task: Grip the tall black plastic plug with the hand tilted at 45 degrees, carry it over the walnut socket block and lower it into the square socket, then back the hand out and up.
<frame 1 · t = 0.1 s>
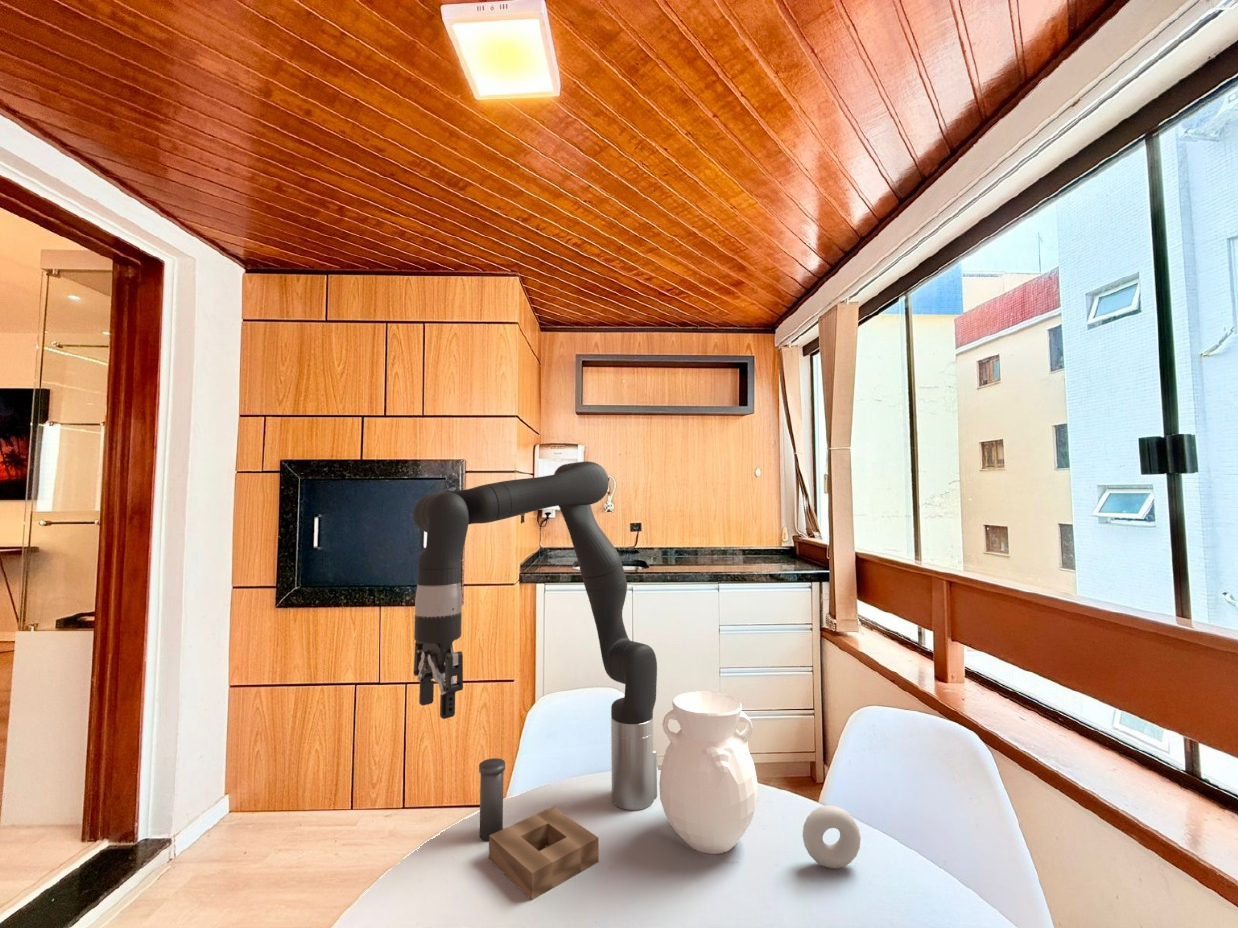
hand: (436, 710, 88), 29 cm above the table, tool pointing down, fingers open, 8 cm apart
socket block: (543, 860, 95), on the table
white handled vase: (709, 838, 101), on the table
plug: (491, 834, 102), on the table
donut: (832, 868, 92), on the table
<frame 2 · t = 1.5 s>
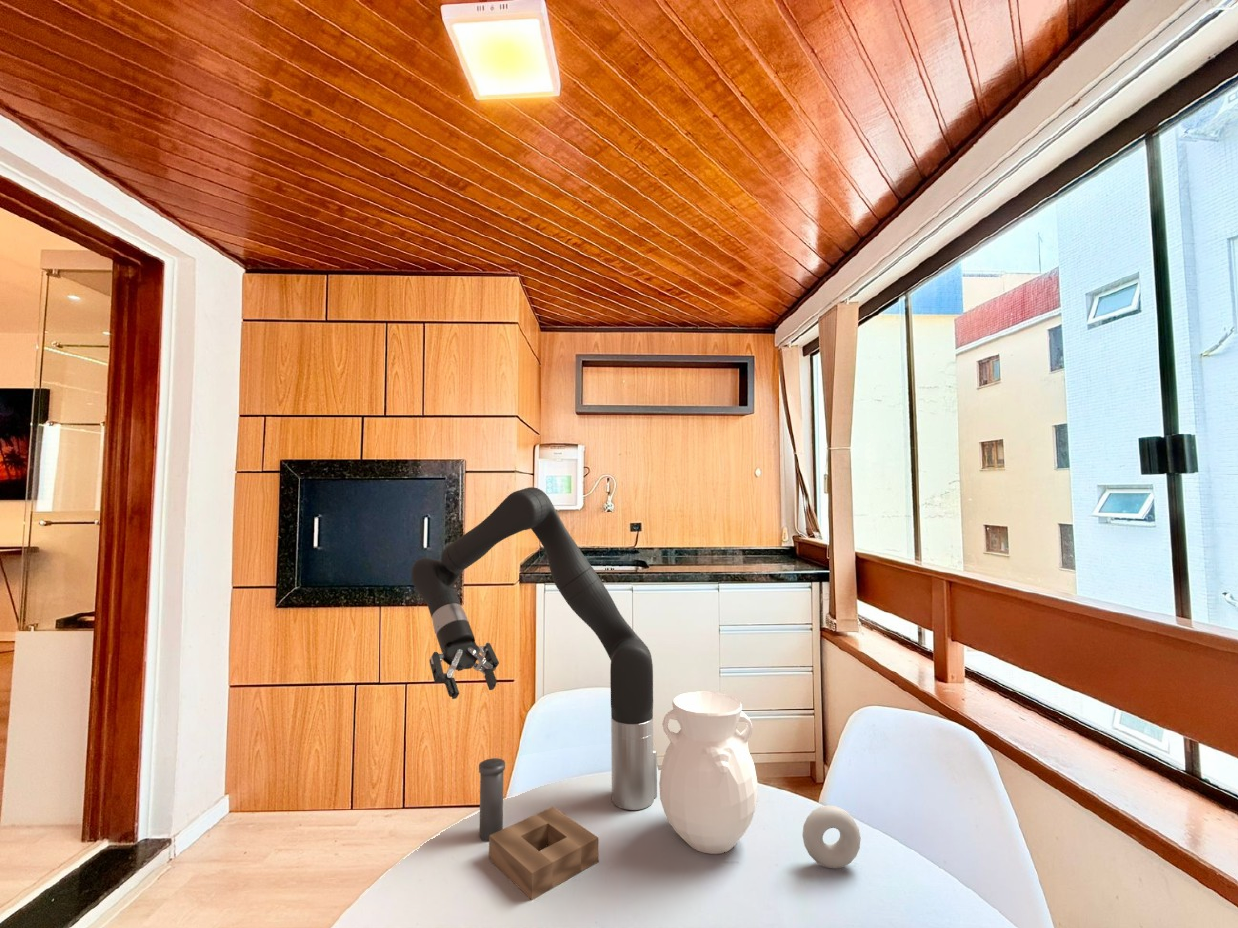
hand: (475, 692, 112), 24 cm above the table, tool tilted 45°, fingers open, 8 cm apart
nothing on the table moved.
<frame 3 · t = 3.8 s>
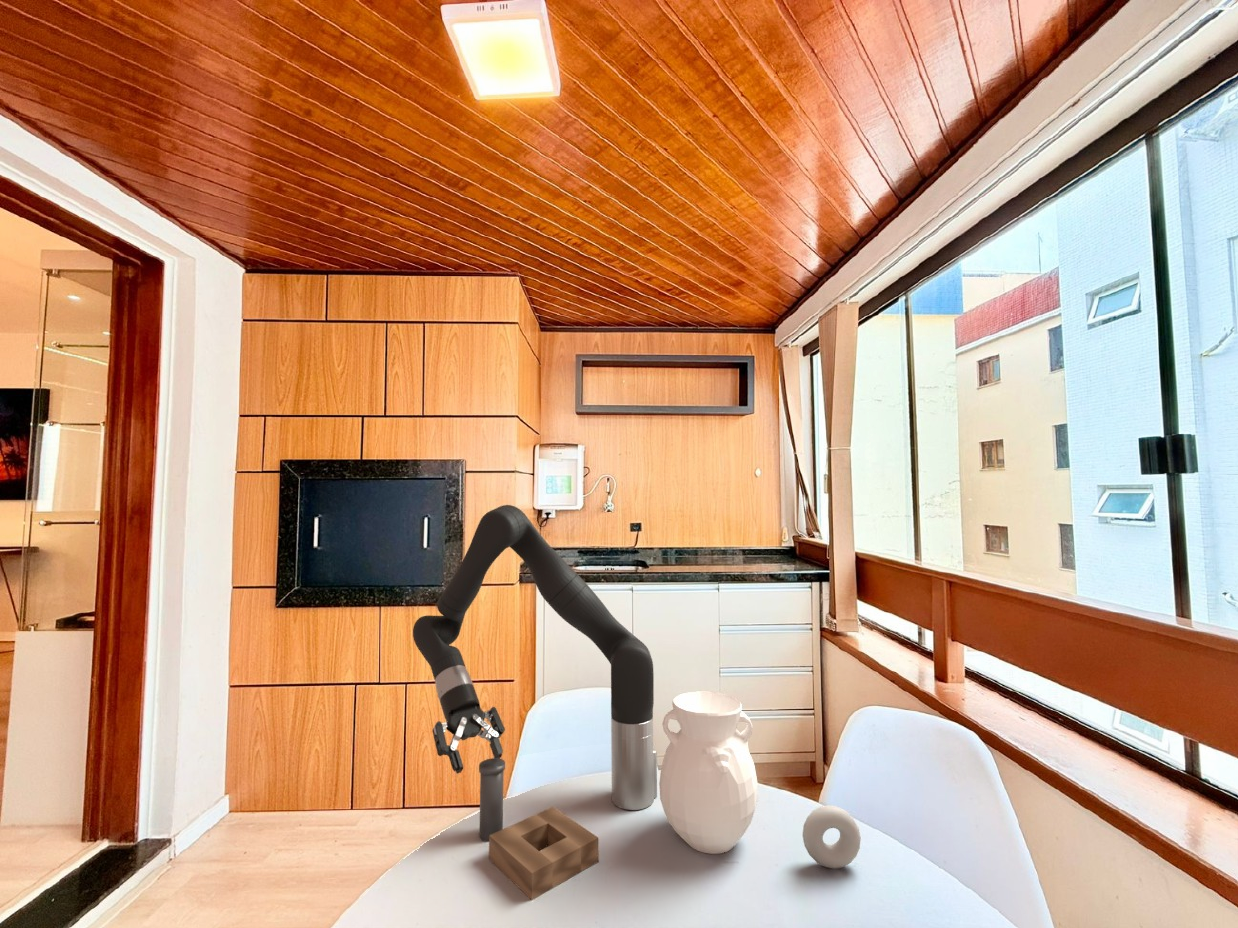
hand: (480, 764, 107), 11 cm above the table, tool tilted 45°, fingers open, 8 cm apart
nothing on the table moved.
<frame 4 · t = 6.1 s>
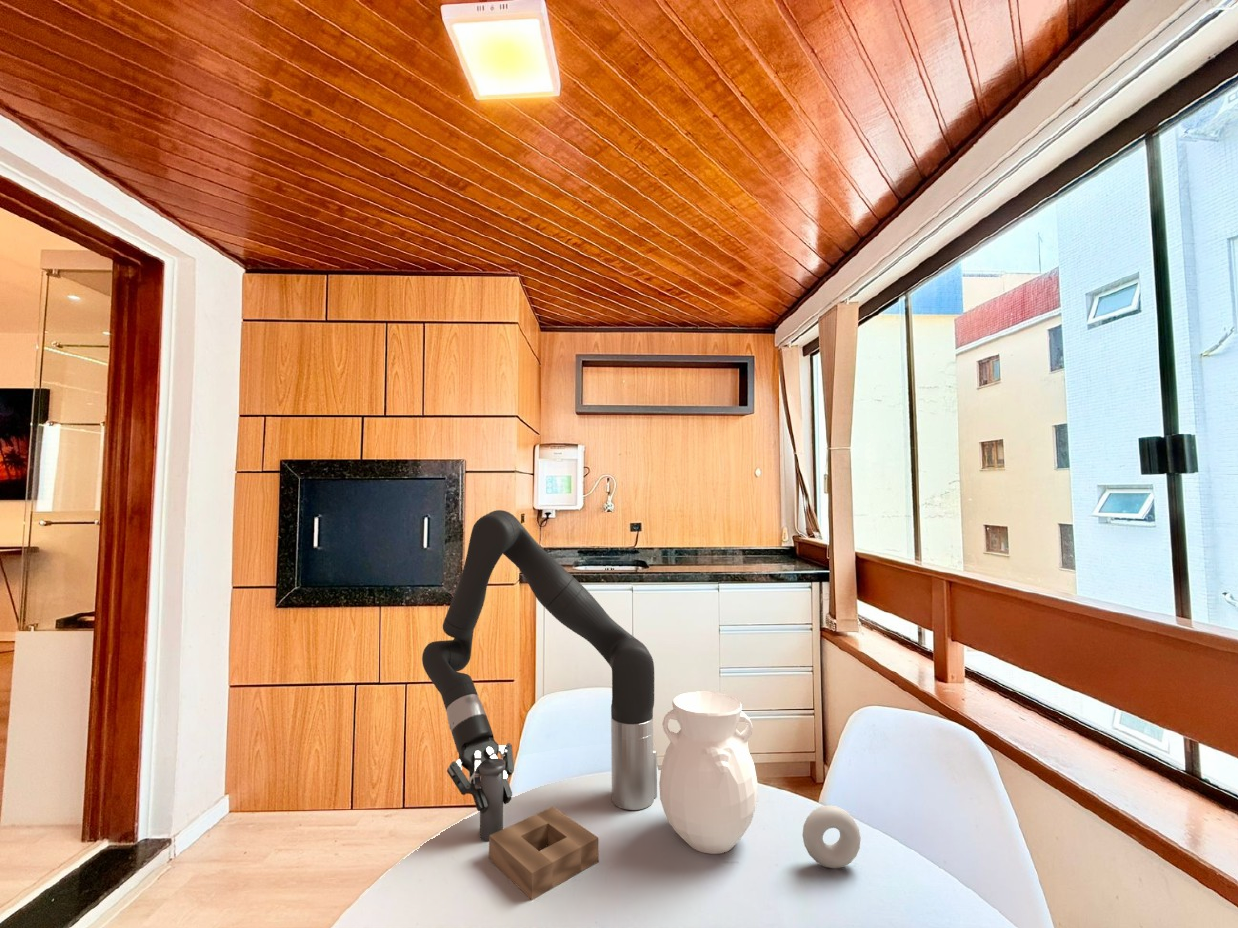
hand: (496, 805, 102), 6 cm above the table, tool tilted 45°, fingers closed on plug, 4 cm apart
plug: (491, 834, 102), on the table, touching gripper
everything else where it was.
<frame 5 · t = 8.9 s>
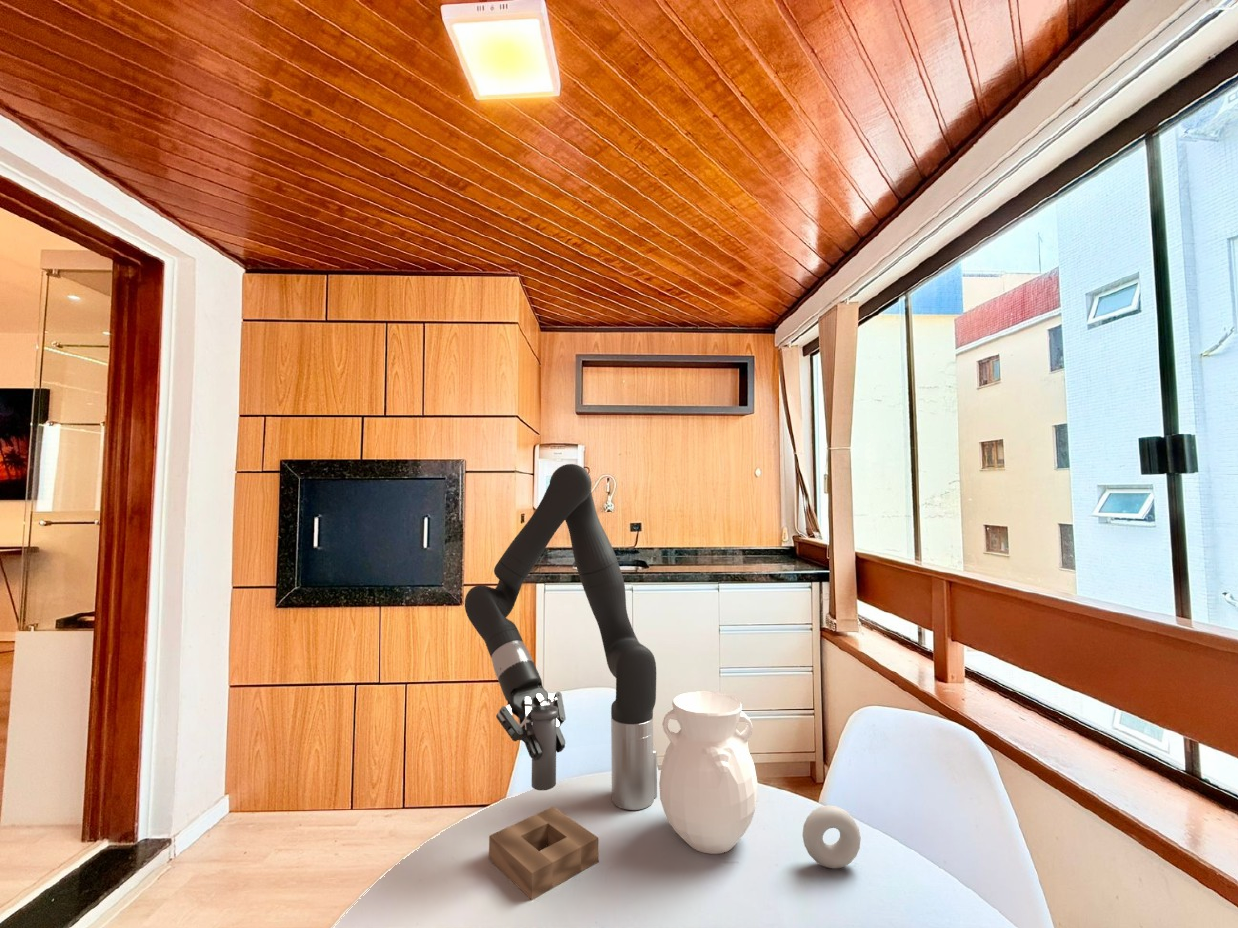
hand: (550, 753, 95), 19 cm above the table, tool tilted 45°, fingers closed on plug, 4 cm apart
plug: (543, 784, 96), point 13 cm above the table, touching gripper
everything else where it was.
when the fingers open (7 cm above the table, at t = 11.8 s): plug drops 1 cm, resting in socket block.
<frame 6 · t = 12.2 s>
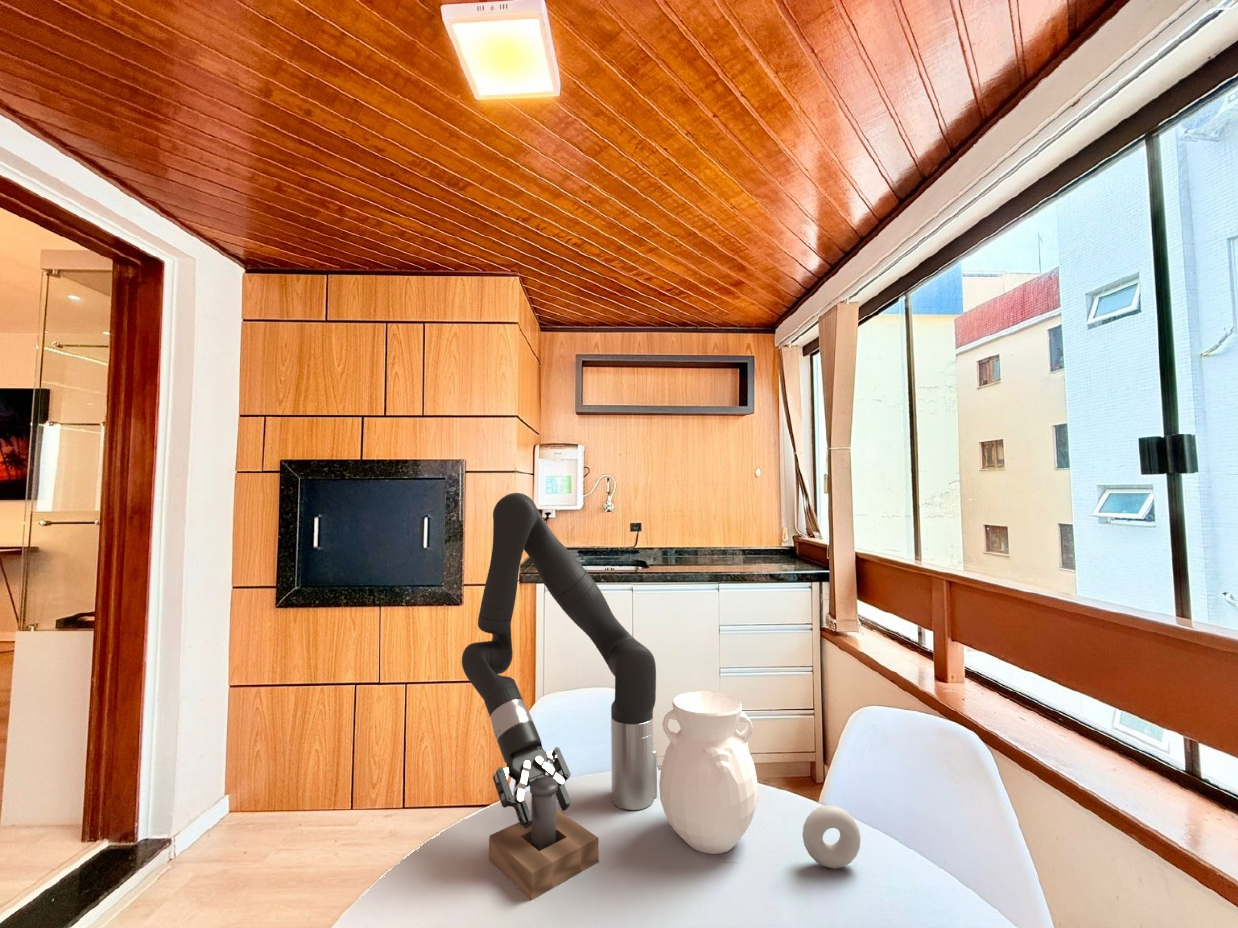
hand: (548, 816, 94), 8 cm above the table, tool tilted 45°, fingers open, 7 cm apart
plug: (543, 860, 95), resting in socket block
everything else where it was.
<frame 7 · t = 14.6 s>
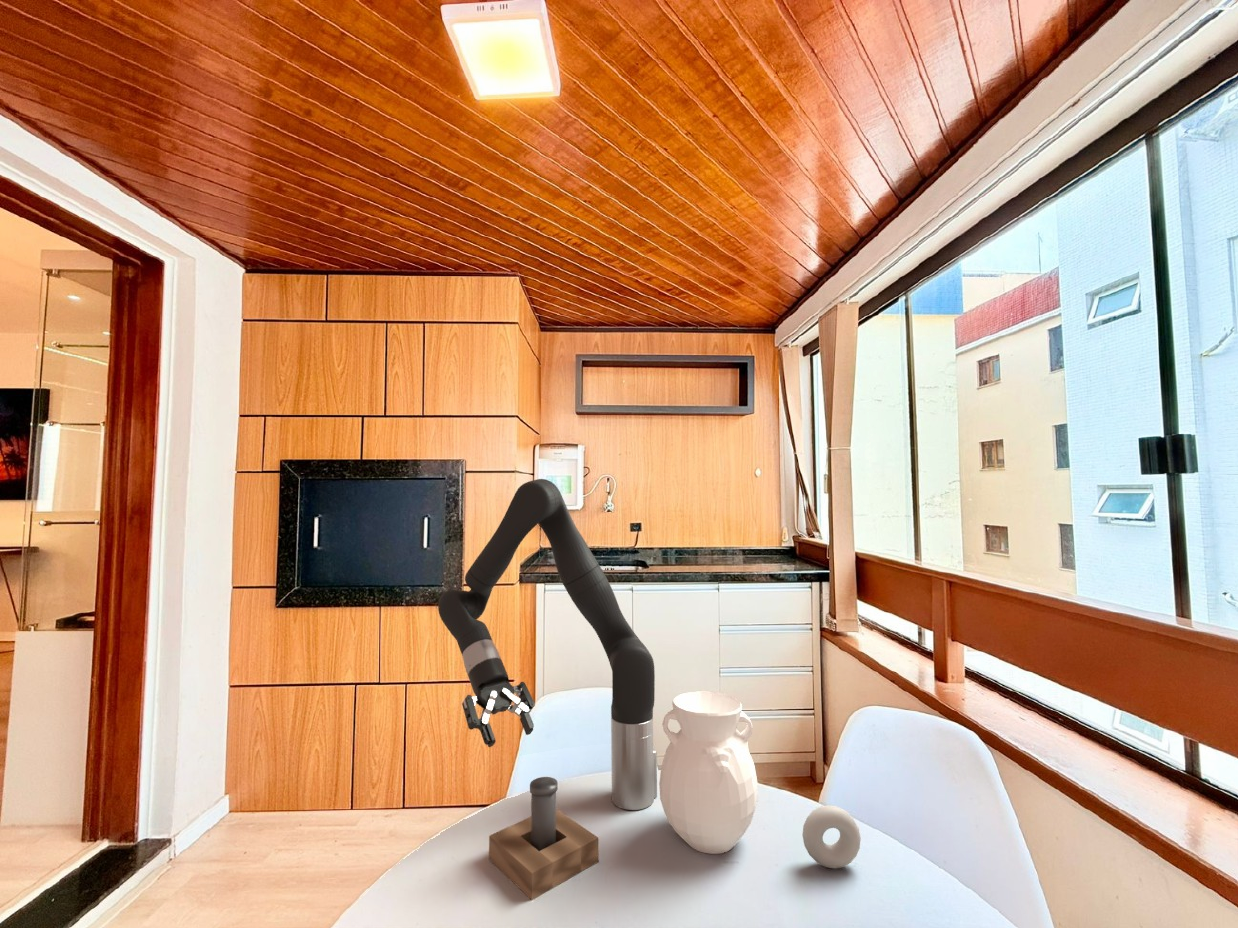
hand: (511, 738, 105), 18 cm above the table, tool tilted 45°, fingers open, 8 cm apart
nothing on the table moved.
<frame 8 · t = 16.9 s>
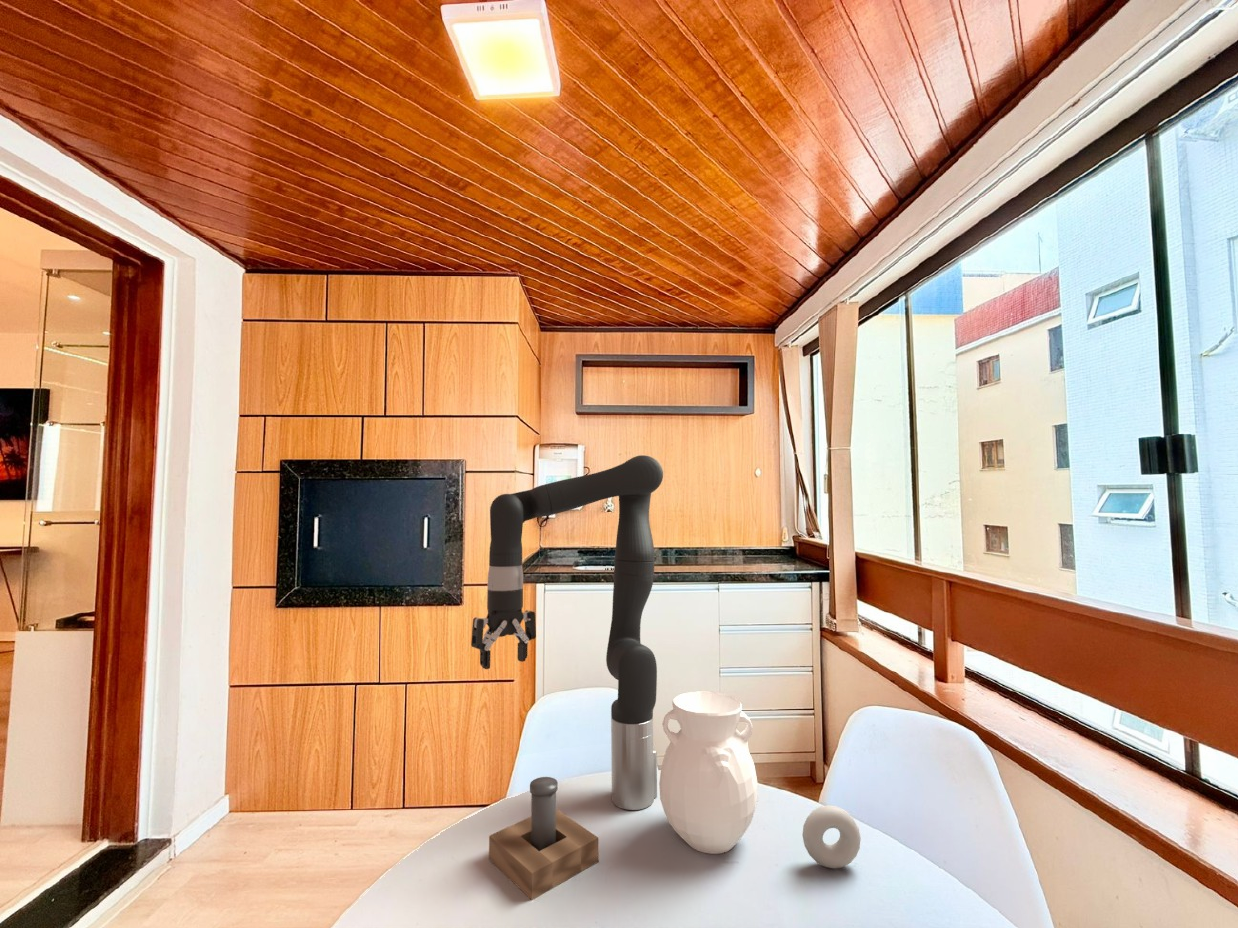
hand: (504, 664, 112), 30 cm above the table, tool pointing down, fingers open, 8 cm apart
nothing on the table moved.
at the end: plug 0.1 cm off-centre on the socket block, point 0.0 cm above the socket block's base; plug tilted 0°; the gripper is holding nothing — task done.
